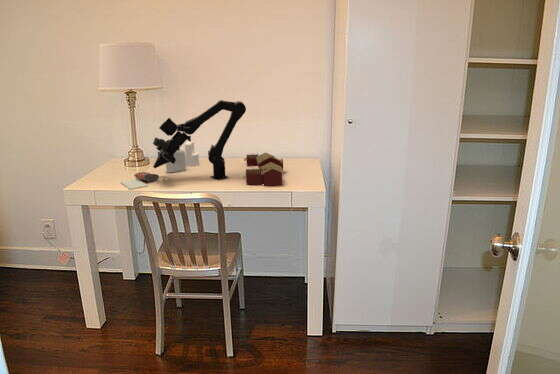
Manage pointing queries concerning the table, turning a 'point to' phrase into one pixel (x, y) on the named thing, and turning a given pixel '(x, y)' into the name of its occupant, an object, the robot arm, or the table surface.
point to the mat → (134, 184)
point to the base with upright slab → (191, 155)
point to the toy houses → (264, 170)
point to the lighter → (147, 176)
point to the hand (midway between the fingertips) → (153, 167)
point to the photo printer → (177, 162)
